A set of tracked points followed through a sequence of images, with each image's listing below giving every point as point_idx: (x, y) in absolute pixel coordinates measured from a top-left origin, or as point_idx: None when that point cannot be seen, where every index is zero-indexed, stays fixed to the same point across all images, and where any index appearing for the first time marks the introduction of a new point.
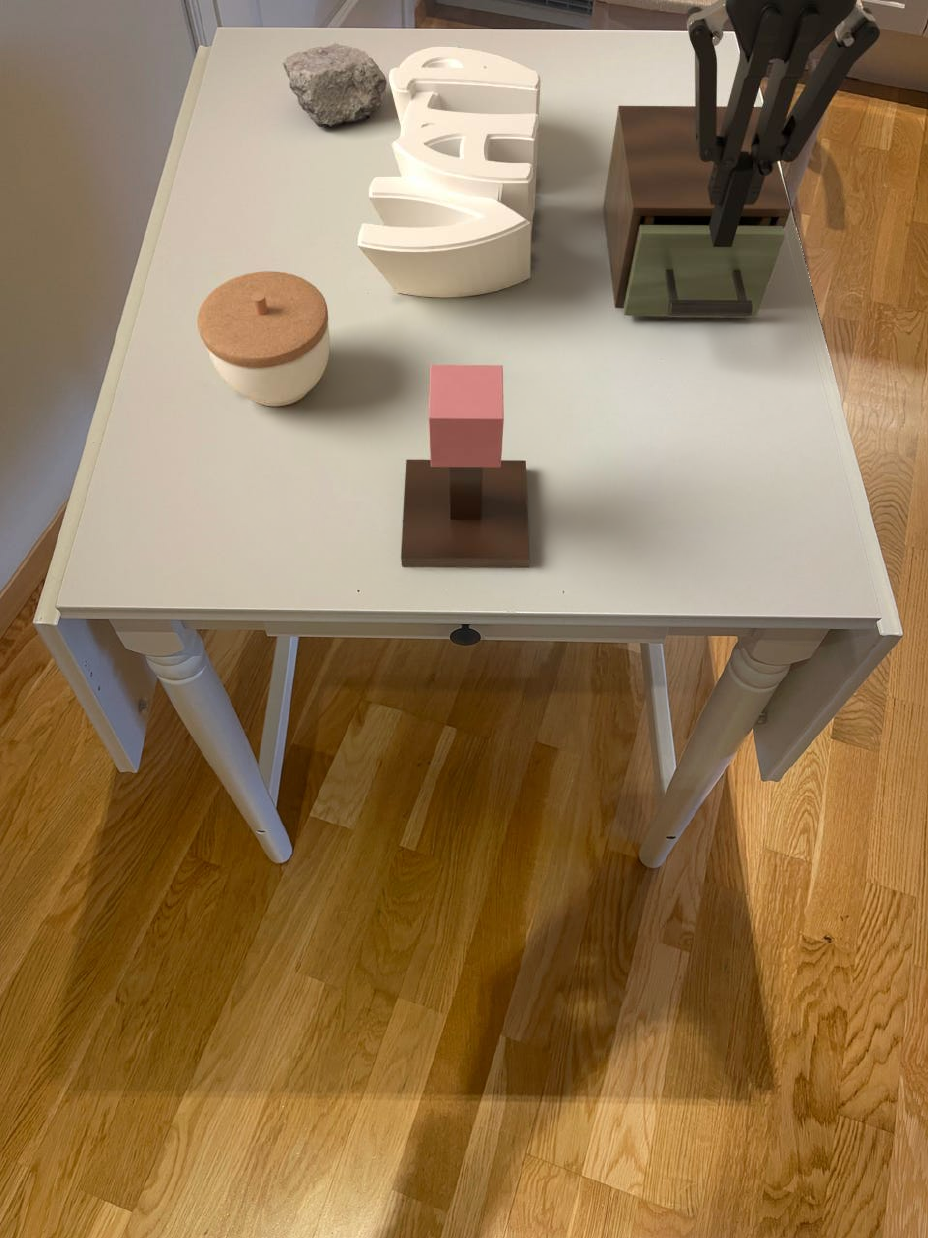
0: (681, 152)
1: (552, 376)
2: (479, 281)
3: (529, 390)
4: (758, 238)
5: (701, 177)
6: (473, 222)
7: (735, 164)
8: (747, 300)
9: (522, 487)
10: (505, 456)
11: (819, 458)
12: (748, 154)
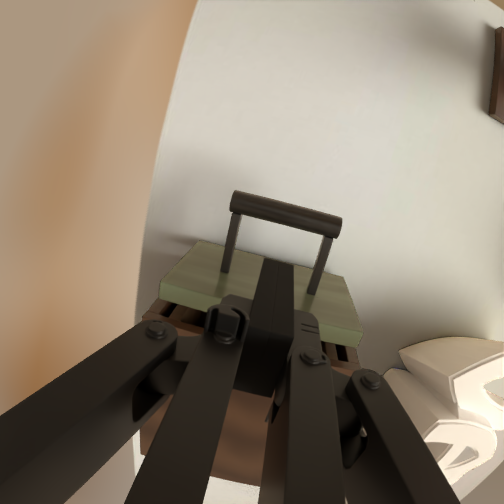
0: (250, 436)
1: (437, 218)
2: (460, 340)
3: (461, 206)
4: (197, 287)
5: (243, 400)
6: (493, 378)
7: (294, 351)
8: (234, 209)
9: (501, 88)
10: (497, 136)
11: (209, 43)
12: (234, 380)
